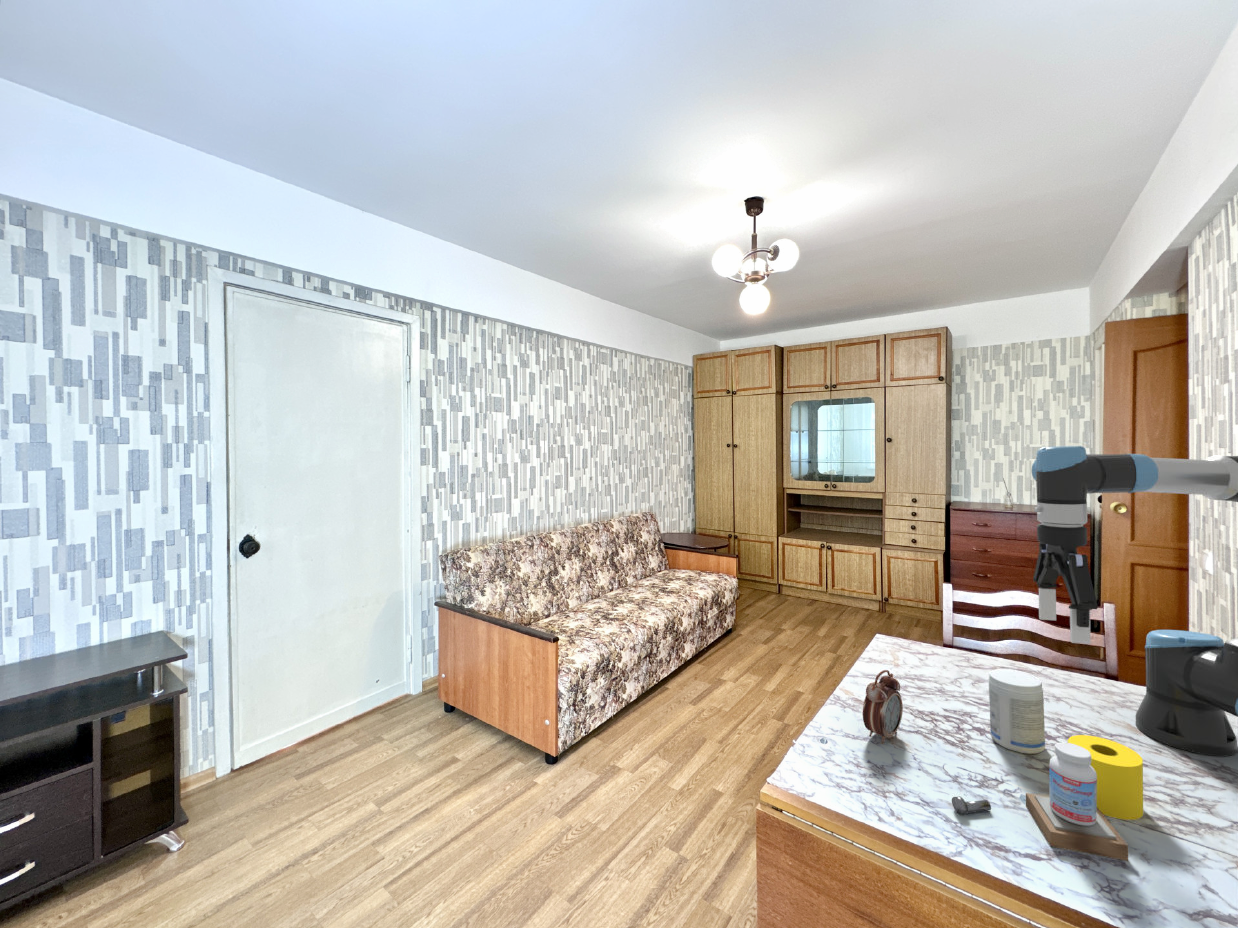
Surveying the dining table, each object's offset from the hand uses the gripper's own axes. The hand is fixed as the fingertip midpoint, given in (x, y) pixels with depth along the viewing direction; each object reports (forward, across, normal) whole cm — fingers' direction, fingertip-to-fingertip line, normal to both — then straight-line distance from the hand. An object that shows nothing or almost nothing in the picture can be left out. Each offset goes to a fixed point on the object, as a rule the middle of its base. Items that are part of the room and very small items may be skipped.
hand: (1062, 630), depth 103 cm
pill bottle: (+26, +19, -6) cm, 33 cm away
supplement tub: (+29, -9, -5) cm, 31 cm away
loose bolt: (+28, +18, -20) cm, 39 cm away
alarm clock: (+29, -4, -32) cm, 43 cm away
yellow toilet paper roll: (+29, +8, +3) cm, 30 cm away
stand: (+28, +19, -6) cm, 35 cm away
